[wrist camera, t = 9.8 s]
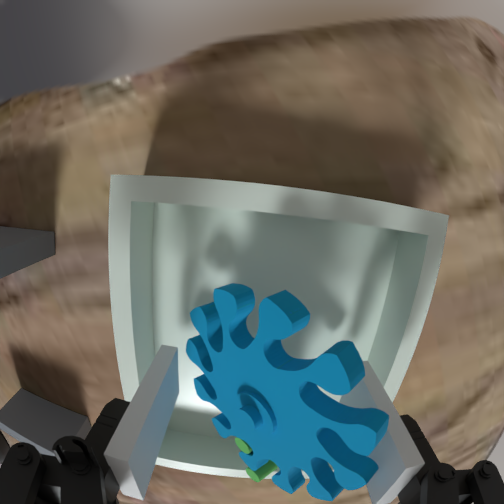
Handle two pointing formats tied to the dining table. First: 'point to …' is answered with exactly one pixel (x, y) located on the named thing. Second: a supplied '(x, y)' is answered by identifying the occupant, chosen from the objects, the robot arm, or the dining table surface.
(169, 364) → the robot arm
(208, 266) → the parts tray
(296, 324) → the gear
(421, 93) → the dining table surface
